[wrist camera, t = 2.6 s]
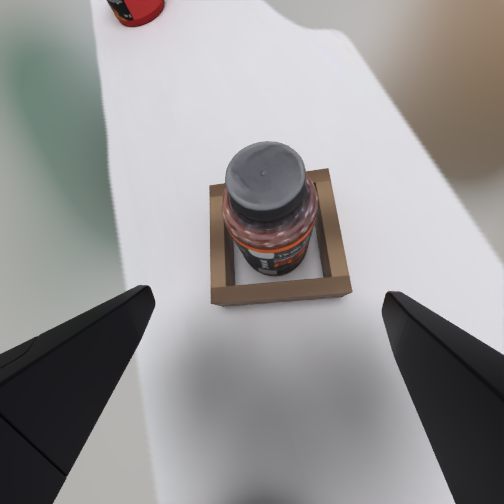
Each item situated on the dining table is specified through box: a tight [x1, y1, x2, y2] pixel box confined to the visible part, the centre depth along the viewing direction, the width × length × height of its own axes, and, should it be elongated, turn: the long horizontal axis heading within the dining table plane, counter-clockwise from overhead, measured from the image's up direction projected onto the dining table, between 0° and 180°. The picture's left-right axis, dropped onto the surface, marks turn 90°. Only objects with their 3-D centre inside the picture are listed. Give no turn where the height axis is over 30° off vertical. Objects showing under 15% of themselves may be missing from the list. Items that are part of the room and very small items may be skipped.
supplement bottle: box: [221, 141, 318, 276], centre depth 17 cm, size 6×6×11 cm
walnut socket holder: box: [210, 168, 352, 306], centre depth 20 cm, size 10×10×4 cm
